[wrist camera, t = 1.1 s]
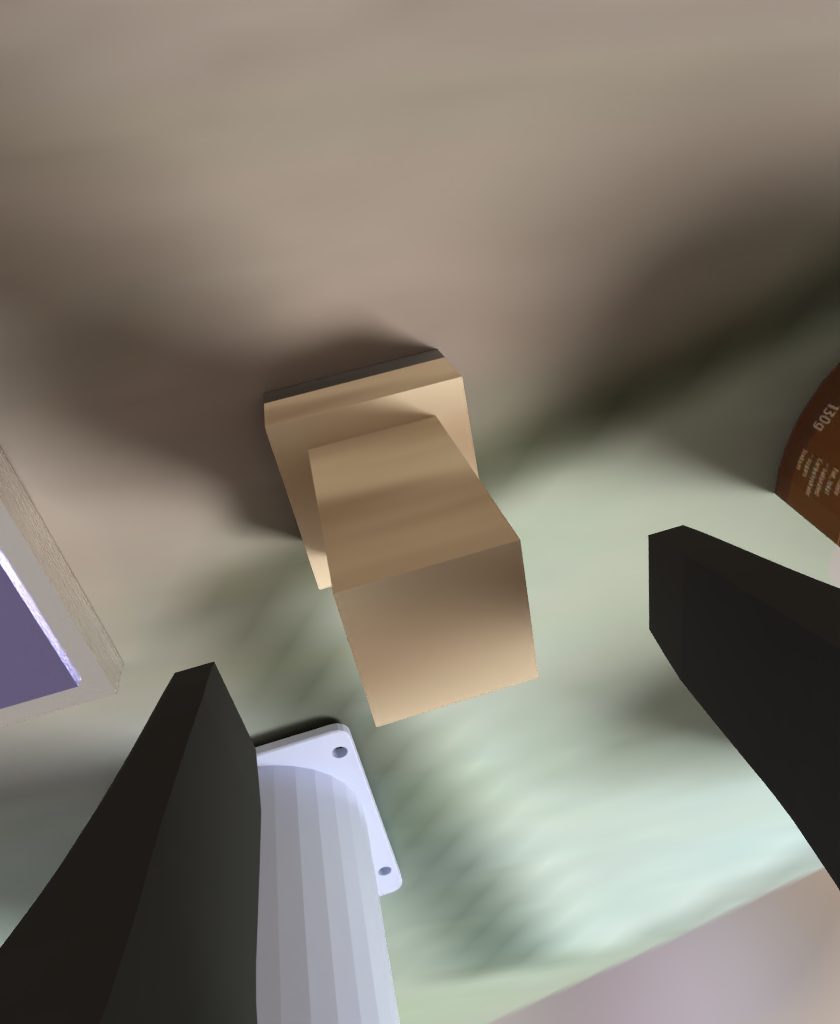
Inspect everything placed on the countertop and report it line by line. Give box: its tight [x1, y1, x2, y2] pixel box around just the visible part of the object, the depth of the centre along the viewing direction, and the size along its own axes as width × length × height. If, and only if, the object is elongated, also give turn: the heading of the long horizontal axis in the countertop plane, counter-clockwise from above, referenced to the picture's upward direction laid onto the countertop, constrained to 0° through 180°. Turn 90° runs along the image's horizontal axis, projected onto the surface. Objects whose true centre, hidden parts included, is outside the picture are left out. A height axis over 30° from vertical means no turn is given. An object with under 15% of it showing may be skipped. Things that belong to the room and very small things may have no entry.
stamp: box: [264, 349, 538, 727], centre depth 14 cm, size 4×4×8 cm
